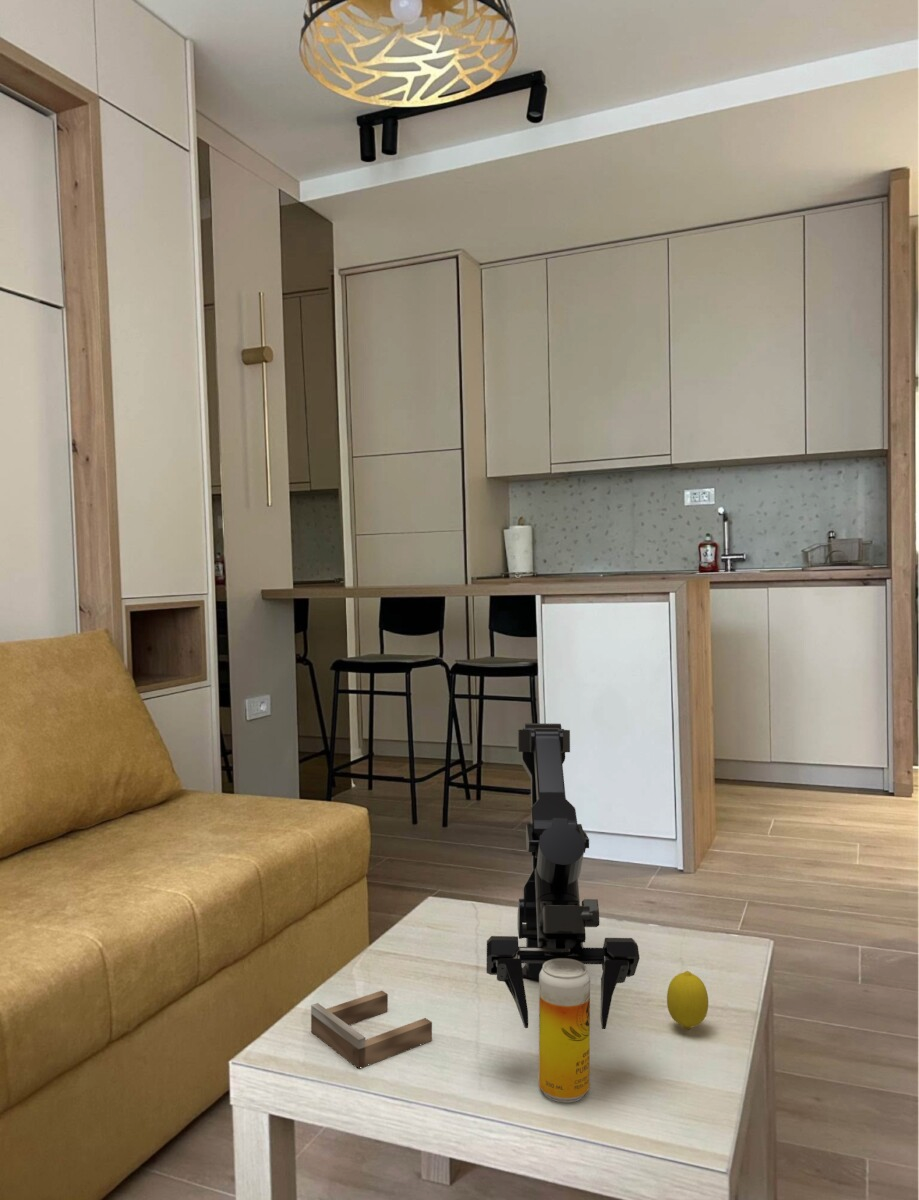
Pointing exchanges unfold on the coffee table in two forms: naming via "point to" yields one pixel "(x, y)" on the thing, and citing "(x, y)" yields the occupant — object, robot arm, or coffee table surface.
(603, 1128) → the coffee table surface
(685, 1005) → the lemon
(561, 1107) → the coffee table surface
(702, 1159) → the coffee table surface
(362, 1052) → the frame
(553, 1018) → the beer can
